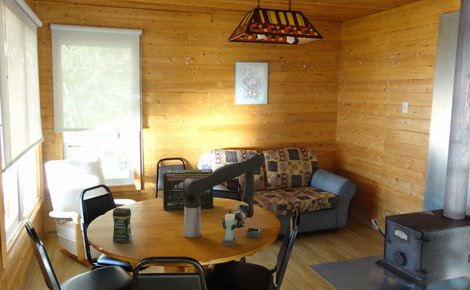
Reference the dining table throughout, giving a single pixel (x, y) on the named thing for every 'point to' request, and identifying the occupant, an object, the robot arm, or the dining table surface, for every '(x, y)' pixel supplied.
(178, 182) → the router box
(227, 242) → the holster
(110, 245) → the dining table surface
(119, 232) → the coffee jar
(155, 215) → the dining table surface
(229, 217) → the plug
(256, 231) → the tray
